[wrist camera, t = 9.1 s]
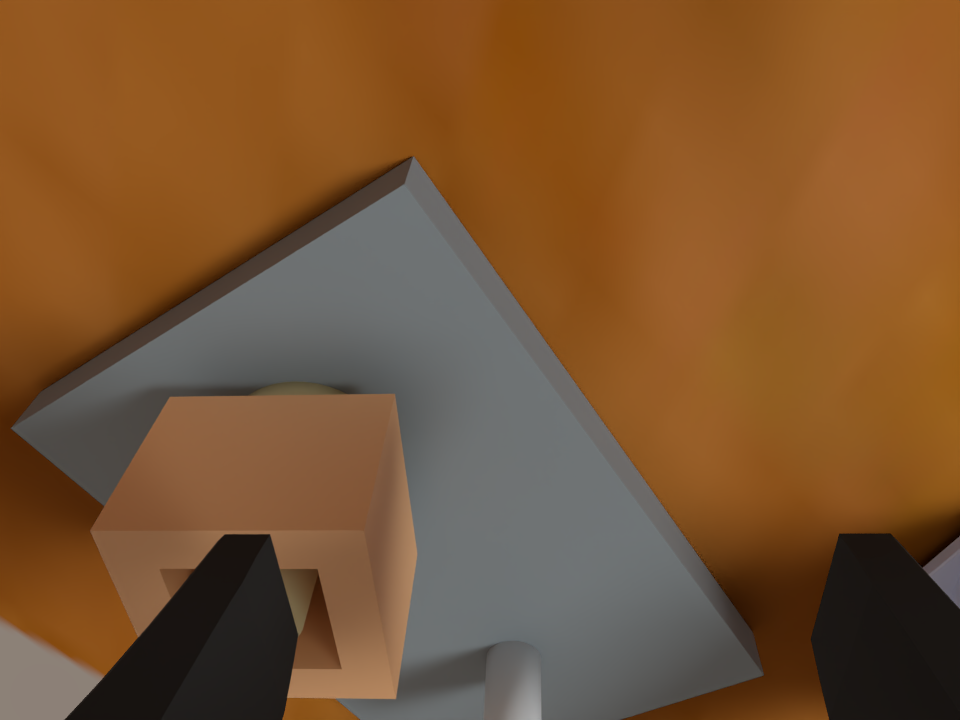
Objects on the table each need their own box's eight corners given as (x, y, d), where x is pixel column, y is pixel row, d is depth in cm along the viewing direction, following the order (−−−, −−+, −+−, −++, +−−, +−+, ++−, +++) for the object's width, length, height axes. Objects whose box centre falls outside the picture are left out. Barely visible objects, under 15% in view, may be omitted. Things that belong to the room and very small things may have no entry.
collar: (395, 393, 18) (363, 530, 14) (417, 554, 21) (396, 698, 17) (169, 396, 18) (90, 531, 15) (222, 553, 21) (164, 695, 18)
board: (753, 632, 25) (812, 855, 20) (435, 737, 30) (414, 945, 24) (413, 156, 17) (360, 318, 12) (40, 391, 21) (-123, 590, 16)
